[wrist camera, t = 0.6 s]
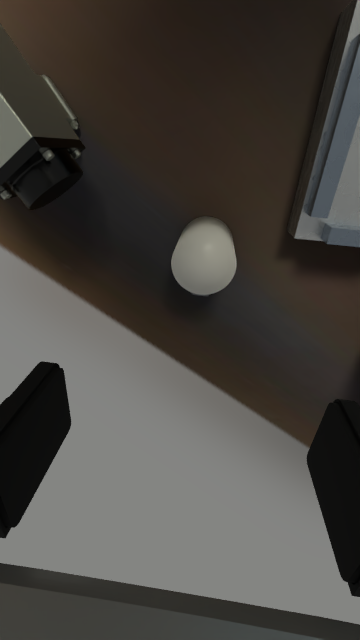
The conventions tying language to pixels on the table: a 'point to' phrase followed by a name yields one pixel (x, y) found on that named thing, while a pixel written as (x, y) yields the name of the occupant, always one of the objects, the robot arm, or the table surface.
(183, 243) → the white rounded cylinder
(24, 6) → the table surface
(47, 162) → the pneumatic valve
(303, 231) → the grey fixture tray
